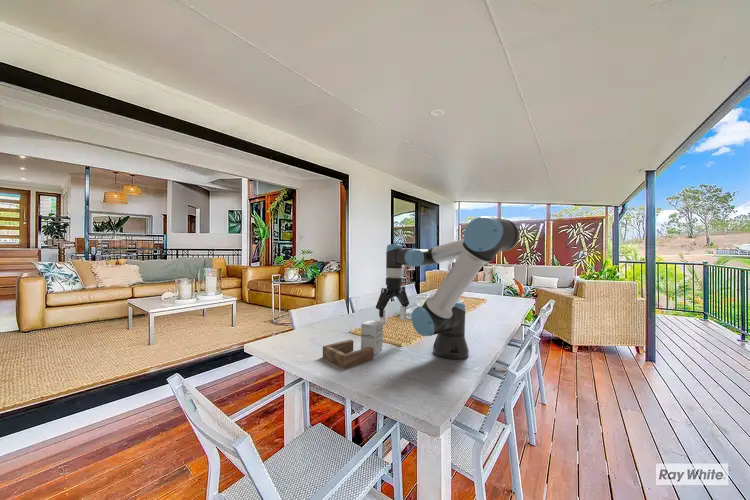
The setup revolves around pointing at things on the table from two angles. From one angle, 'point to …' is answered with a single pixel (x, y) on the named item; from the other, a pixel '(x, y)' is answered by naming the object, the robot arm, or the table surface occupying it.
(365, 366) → the table surface
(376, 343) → the supplement box
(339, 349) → the u rest
